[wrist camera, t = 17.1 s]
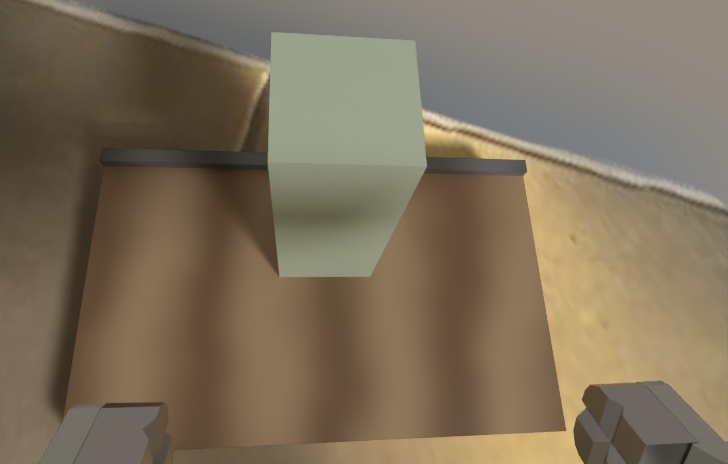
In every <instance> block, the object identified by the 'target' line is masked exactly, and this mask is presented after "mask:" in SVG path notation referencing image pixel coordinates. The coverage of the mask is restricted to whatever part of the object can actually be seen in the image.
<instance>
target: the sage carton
mask: <svg viewBox="0 0 728 464" xmlns="http://www.w3.org/2000/svg"><path fill="white" fill-rule="evenodd" d="M271 39H272V40H271V70H270V103H269V136H268V170H269V180H270V190H271V199H272V209H273V219H274V229H275V238H276V248H277V258H278V268H279V277H370V276H371V274H372V272H373V270H374V268H375V266H376V264H377V262H378V260H379V258H380V257H381V255H382V253H383V251H384V249H385V247H386V245H387V243H388V241H389V239H390V237H391V235H392V233H393V231H394V229H395V227H396V226H397V224H398V222H399V220H400V218H401V216H402V214H403V212H404V210H405V208H406V206H407V204H408V202H409V200H410V198H411V196H412V195H413V193H414V191H415V189H416V187H417V185H418V183H419V181H420V179H421V177H422V175H423V173H424V171H425V169H426V167H427V161H426V151H425V140H424V130H423V119H422V109H421V98H420V88H419V77H418V67H417V56H416V46H415V41H410V40H393V39H376V38H359V37H342V36H327V35H309V34H294V33H293V34H292V33H277V32H272V38H271Z"/></svg>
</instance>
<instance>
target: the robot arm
mask: <svg viewBox="0 0 728 464" xmlns="http://www.w3.org/2000/svg"><path fill="white" fill-rule="evenodd" d="M582 401H583V403H584V405H585V406H586V409H585V410H584V411H583V412H582V413H581V414H580V415H578V416H577V418H576V422H575V426H574V430H573V431H574V440H575V446H576V448H577V451H578V454H579V456H580V458H581V459H582V461H583V463H584V464H728V442H725V441H724V440H723V439H722V438H721V437H720V436H719V435H718V434H717V433H716V432H715V431H714V430H713V429H712V428H711V427H710V426H709V425H708V424H707V423H706V422H705V421H704V420H703V419H702V418H701V417H700V416H699V415H698V414H697V413H696V412H695V411H694V410H693V409H692V408H691V407H690V406H689V405H688V404H687V403H686V402H685V401H684V400H683V399H682V398H681V397H680V396H679V395H678V394H677V393H676V391H675V390H674V389H673V388H672V387H671V386H670V385H668V384H666V383H664V382H662V381H646V382H636V383H613V384H593V385H590V386H589V387H588V388H587V389H586V390H585V392H584V395H583V398H582ZM168 421H169V414H168V408H167V404H166V403H164V402H136V403H106V404H76V405H74V406H73V407H72V408H71V409H69V411H68V412H67V414H66V416H65V417H64V419H63V421H62V423H61V424H60V426H59V428H58V430H57V431H56V433H55V435H54V437H53V439H52V440H51V442H50V444H49V446H48V447H47V449H46V451H45V453H44V454H43V456H42V458H41V460H40V462H39V463H38V464H173V445H172V437H171V436H170V435H169V434H167V433H166V432H165V431H166V428H167V424H168Z"/></svg>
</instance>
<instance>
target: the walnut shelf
mask: <svg viewBox="0 0 728 464" xmlns="http://www.w3.org/2000/svg"><path fill="white" fill-rule="evenodd" d="M426 161H427V167H426V169H425V171H424V173H423V175H422V177H421V179H420V181H419V183H418V185H417V187H416V189H415V191H414V193H413V195H412V196H411V198H410V200H409V202H408V204H407V206H406V208H405V210H404V212H403V214H402V216H401V218H400V220H399V222H398V224H397V226H396V227H395V229H394V231H393V233H392V235H391V237H390V239H389V241H388V243H387V245H386V247H385V249H384V251H383V253H382V255H381V257H380V258H379V260H378V262H377V264H376V266H375V268H374V270H373V272H372V274H371V276H370V277H279V268H278V258H277V248H276V238H275V229H274V219H273V209H272V199H271V190H270V180H269V170H268V153H260V152H225V151H191V150H156V149H121V148H102V150H101V156H100V162H101V163H102V164H103V173H102V179H101V185H100V191H99V198H98V204H97V210H96V216H95V223H94V229H93V235H92V241H91V248H90V254H89V260H88V266H87V273H86V279H85V285H84V291H83V298H82V304H81V310H80V316H79V322H78V329H77V335H76V341H75V347H74V354H73V360H72V366H71V372H70V379H69V385H68V391H67V397H66V404H65V410H64V416H63V419H64V417H65V416H66V414H67V412H68V411H69V409H71V408H72V407H73V406H74V405H76V404H106V403H136V402H164V403H166V404H167V408H168V414H169V421H168V424H167V428H166V431H165V432H166V433H167V434H169V435H170V436H171V437H172V445H173V450H182V449H203V448H223V447H244V446H265V445H285V444H306V443H326V442H347V441H368V440H388V439H409V438H430V437H450V436H471V435H492V434H512V433H533V432H554V431H566V427H565V421H564V416H563V410H562V404H561V398H560V392H559V386H558V380H557V374H556V368H555V362H554V356H553V351H552V345H551V339H550V333H549V327H548V321H547V315H546V309H545V303H544V297H543V291H542V285H541V280H540V274H539V268H538V262H537V256H536V250H535V244H534V238H533V232H532V226H531V220H530V215H529V209H528V203H527V197H526V191H525V185H524V179H523V175H524V174H525V173H526V172H527V168H526V163H525V160H503V159H468V158H434V157H426Z"/></svg>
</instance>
